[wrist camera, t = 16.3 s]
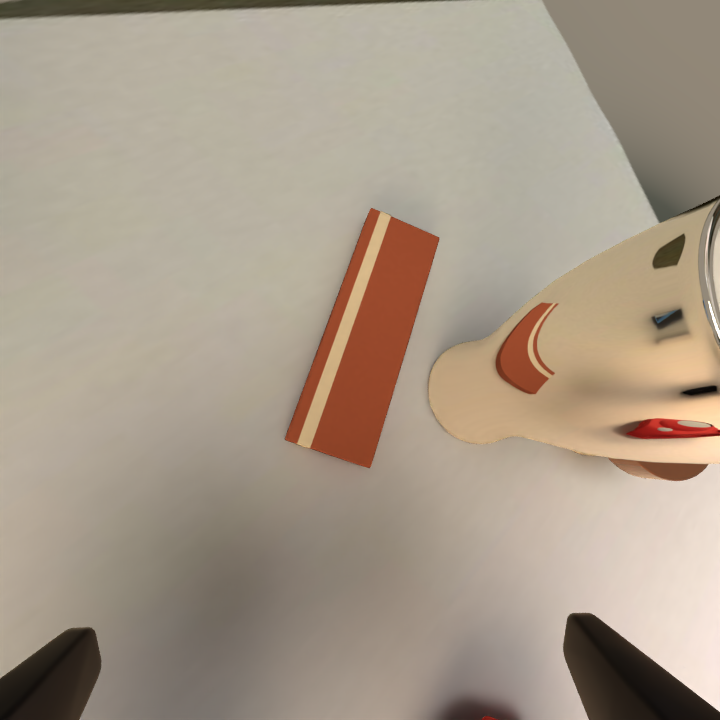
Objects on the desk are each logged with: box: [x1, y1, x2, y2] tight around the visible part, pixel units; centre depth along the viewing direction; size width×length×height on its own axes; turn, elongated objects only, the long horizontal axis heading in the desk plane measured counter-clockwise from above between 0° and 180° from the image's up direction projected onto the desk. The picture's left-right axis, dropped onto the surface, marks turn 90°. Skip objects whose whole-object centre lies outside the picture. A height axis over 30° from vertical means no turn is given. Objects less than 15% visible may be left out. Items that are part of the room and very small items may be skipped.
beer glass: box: [428, 195, 720, 464], centre depth 15 cm, size 7×7×15 cm
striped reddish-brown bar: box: [285, 208, 439, 468], centre depth 21 cm, size 4×14×2 cm, turn 161°
